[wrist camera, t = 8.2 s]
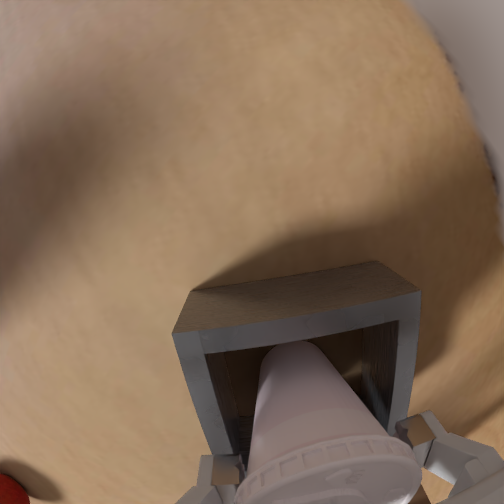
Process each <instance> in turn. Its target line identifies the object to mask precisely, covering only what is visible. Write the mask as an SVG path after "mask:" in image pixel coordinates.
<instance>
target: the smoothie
mask: <svg viewBox="0 0 504 504" xmlns="http://www.w3.org/2000/svg"><path fill="white" fill-rule="evenodd" d="M421 480H422V470H421V468H420V466H419V464H418V463H417V461H416V459H415V454H414V453H413V451H412V449H411V447H410V446H409V445H408V444H407V443H405V442H403V441H401V440H400V439H398V438H396V437H390V436H389V435H388V433H387V432H386V431H385V430H384V428H383V427H382V426H381V424H380V423H379V422H378V421H377V420H376V419H375V417H374V416H373V415H372V414H371V412H370V411H369V410H368V409H367V407H366V406H365V405H364V404H363V402H362V401H361V400H360V399H359V397H358V396H357V395H356V394H355V392H354V391H353V390H352V389H351V387H350V386H349V385H348V384H347V382H346V381H345V380H344V379H343V377H342V376H341V375H340V374H339V372H338V371H337V370H336V369H335V367H334V366H333V365H332V364H331V362H330V361H329V360H328V359H327V357H326V356H325V355H324V354H323V352H322V351H321V350H320V349H319V348H318V347H317V346H316V345H314V344H312V343H310V342H307V341H301V340H299V341H293V342H287V343H281V344H279V345H277V346H275V347H274V348H273V349H271V350H270V351H269V352H268V353H267V354H266V356H265V357H264V359H263V361H262V363H261V368H260V376H259V384H258V392H257V400H256V408H255V416H254V424H253V432H252V439H251V447H250V454H249V459H248V468H247V477H246V479H245V480H244V481H243V482H242V483H241V484H240V486H239V487H238V489H237V492H236V495H235V498H234V503H235V504H408V503H409V502H410V500H411V499H412V498H413V496H414V495H415V494H416V492H417V490H418V488H419V486H420V484H421Z"/></svg>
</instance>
